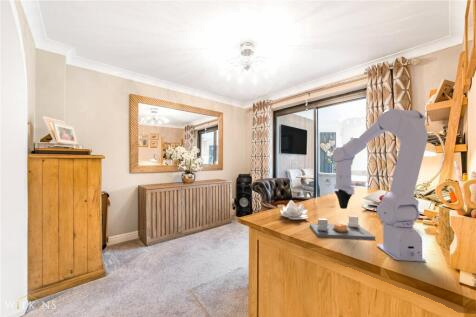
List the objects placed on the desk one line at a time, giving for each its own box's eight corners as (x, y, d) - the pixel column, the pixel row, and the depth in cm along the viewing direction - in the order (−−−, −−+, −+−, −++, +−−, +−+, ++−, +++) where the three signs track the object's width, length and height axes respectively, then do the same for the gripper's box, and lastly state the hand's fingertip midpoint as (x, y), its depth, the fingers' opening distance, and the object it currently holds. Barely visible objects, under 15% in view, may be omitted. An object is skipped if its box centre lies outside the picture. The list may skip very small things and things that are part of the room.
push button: (348, 232, 74) (348, 227, 74) (336, 231, 75) (336, 227, 75) (344, 228, 78) (344, 224, 78) (332, 227, 79) (332, 223, 79)
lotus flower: (309, 216, 101) (309, 199, 101) (308, 225, 87) (308, 205, 87) (281, 212, 106) (281, 197, 106) (276, 221, 92) (276, 202, 92)
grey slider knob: (328, 230, 75) (328, 220, 75) (318, 230, 75) (318, 220, 75) (326, 228, 77) (326, 218, 77) (317, 228, 78) (317, 218, 78)
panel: (375, 240, 70) (375, 236, 70) (317, 237, 73) (317, 233, 73) (358, 228, 82) (358, 225, 82) (309, 226, 85) (309, 223, 85)
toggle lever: (359, 227, 79) (359, 217, 79) (350, 226, 80) (350, 216, 80) (356, 225, 82) (356, 215, 82) (347, 224, 82) (347, 215, 82)
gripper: (362, 178, 74) (362, 213, 74) (345, 174, 89) (345, 204, 89) (343, 177, 75) (343, 212, 75) (329, 174, 89) (329, 204, 90)
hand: (343, 208), depth 82 cm, fingers closed
